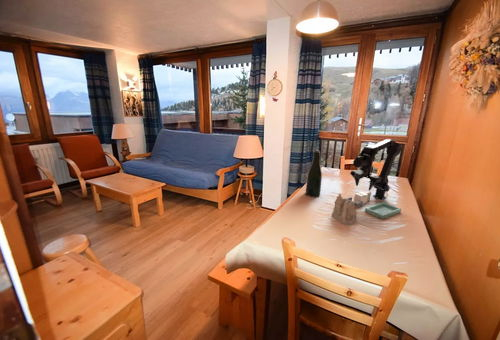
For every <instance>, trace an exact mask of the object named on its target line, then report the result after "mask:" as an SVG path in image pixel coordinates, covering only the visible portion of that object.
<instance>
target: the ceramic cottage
mask: <svg viewBox="0 0 500 340" xmlns="http://www.w3.org/2000/svg"><path fill="white" fill-rule="evenodd" d="M344 199H345V198H343V196H342V194H341V193H338V196H337V197H336V199H334V200H335V201H334V207H333V210H332V213H331V217H332V218H333V219H334V220H336V221H337V222H339V223H341V224H343V225H345V226H355V225H356V224H358V219H357V214H358V212H357V210H356V208H355V205H354V203H353V202H354V201H353V202H350V203H349V202H348V199H346V201H345V200H344Z"/></svg>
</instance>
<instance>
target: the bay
mask: <svg viewBox="0 0 500 340" xmlns="http://www.w3.org/2000/svg"><path fill="white" fill-rule="evenodd" d="M343 199H344V200H345V201H346V199H348V202H349V203H350V202H353V203H354V205H355V209H356V208H357V209H358V208H360V207H363V204H364V203H363V201H360V202H357V203H356V202H354V200H353V196H349V197H345V198H343Z"/></svg>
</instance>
